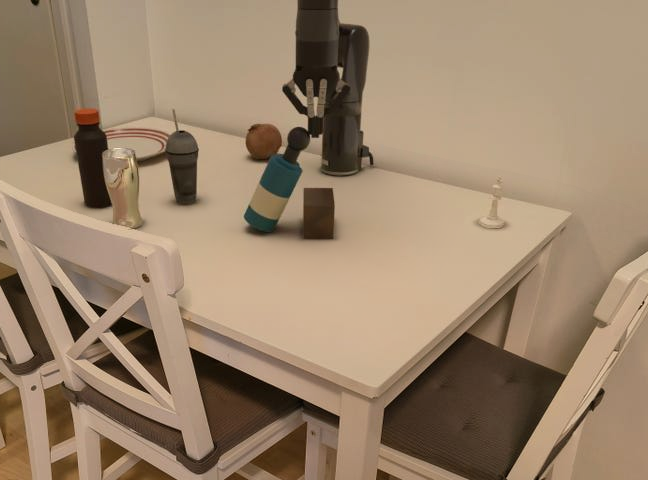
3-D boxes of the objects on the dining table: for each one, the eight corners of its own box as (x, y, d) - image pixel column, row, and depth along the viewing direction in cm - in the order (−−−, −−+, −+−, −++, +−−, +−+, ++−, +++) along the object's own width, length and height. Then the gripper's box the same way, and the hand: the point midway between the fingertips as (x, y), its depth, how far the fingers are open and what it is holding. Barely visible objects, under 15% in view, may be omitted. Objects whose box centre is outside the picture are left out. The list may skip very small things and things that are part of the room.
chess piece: (490, 230, 139) (499, 182, 134) (474, 222, 143) (481, 175, 138) (508, 225, 141) (518, 178, 136) (492, 217, 145) (500, 171, 139)
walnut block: (303, 238, 136) (303, 205, 133) (302, 219, 145) (303, 187, 141) (333, 239, 136) (334, 205, 132) (331, 220, 145) (332, 187, 141)
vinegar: (120, 204, 153) (107, 112, 142) (90, 210, 150) (75, 116, 139) (109, 195, 158) (96, 105, 147) (80, 201, 155) (65, 109, 144)
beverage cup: (196, 208, 151) (190, 114, 140) (165, 206, 152) (156, 112, 141) (206, 196, 157) (200, 106, 146) (175, 194, 158) (167, 104, 147)
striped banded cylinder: (248, 241, 139) (219, 152, 129) (251, 228, 145) (224, 141, 135) (329, 223, 135) (306, 129, 126) (329, 210, 141) (307, 119, 131)
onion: (252, 171, 181) (234, 139, 175) (260, 152, 187) (243, 120, 181) (284, 161, 177) (267, 128, 170) (291, 142, 183) (275, 109, 176)
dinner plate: (169, 169, 174) (167, 156, 172) (61, 169, 174) (59, 156, 172) (182, 138, 196) (181, 126, 195) (87, 139, 197) (85, 127, 195)
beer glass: (112, 218, 146) (102, 147, 138) (145, 217, 147) (137, 146, 138) (109, 231, 140) (98, 158, 132) (143, 230, 141) (134, 157, 133)
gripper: (353, 33, 123) (348, 131, 133) (279, 34, 124) (280, 132, 133) (356, 39, 117) (351, 142, 126) (279, 40, 117) (279, 142, 127)
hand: (314, 136), depth 130 cm, fingers closed
